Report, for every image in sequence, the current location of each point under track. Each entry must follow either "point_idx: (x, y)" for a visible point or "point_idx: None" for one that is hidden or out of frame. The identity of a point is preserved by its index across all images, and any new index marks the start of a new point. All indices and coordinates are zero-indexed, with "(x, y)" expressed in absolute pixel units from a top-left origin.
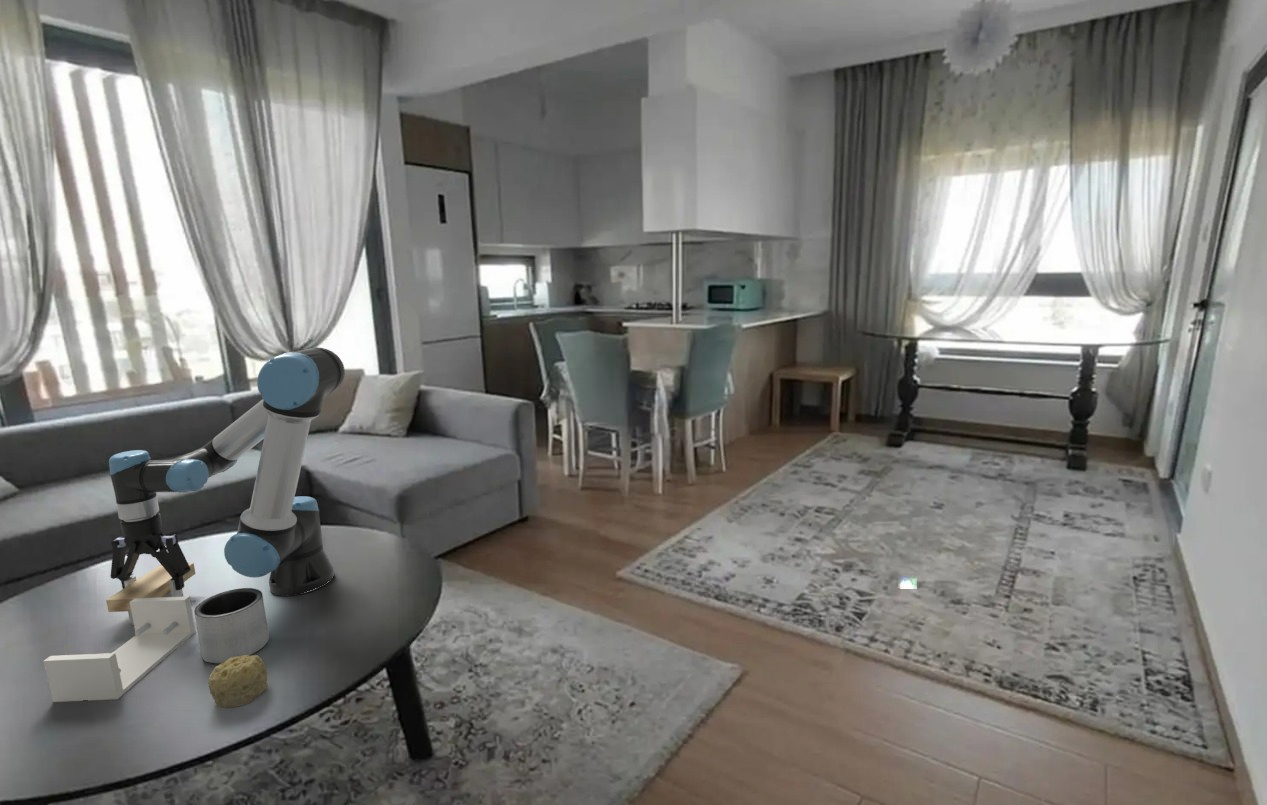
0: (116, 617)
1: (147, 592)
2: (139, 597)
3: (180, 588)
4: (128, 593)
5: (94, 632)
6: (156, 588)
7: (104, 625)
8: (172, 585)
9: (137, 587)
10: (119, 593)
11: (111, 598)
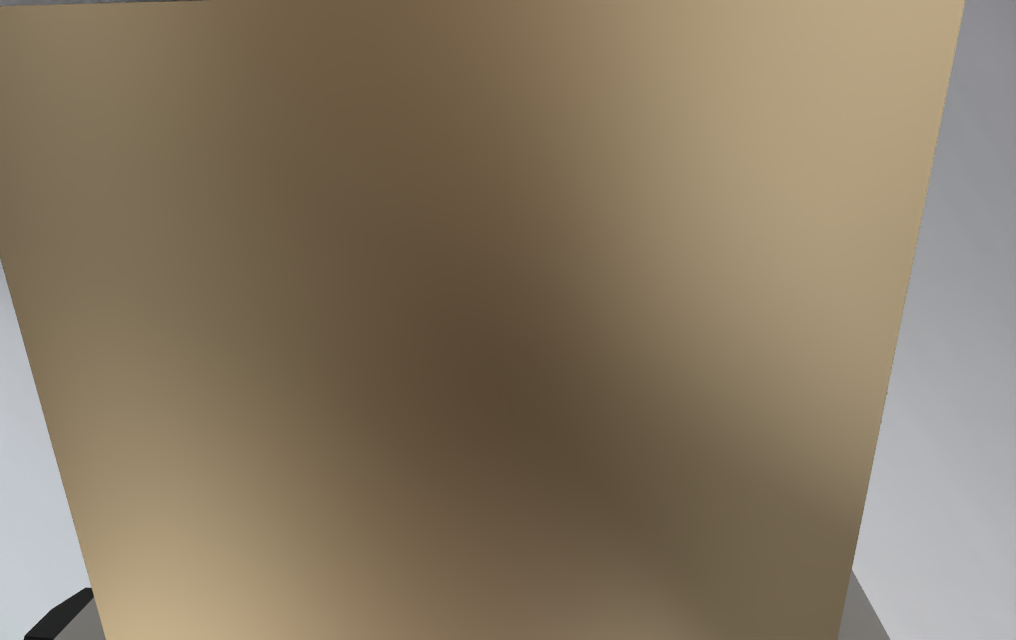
0: (901, 382)
1: (104, 336)
2: (55, 75)
3: (60, 605)
4: (540, 335)
5: (974, 54)
6: (71, 494)
7: (941, 218)
8: (61, 636)
9: (541, 596)
10: (793, 362)
11: (847, 82)
